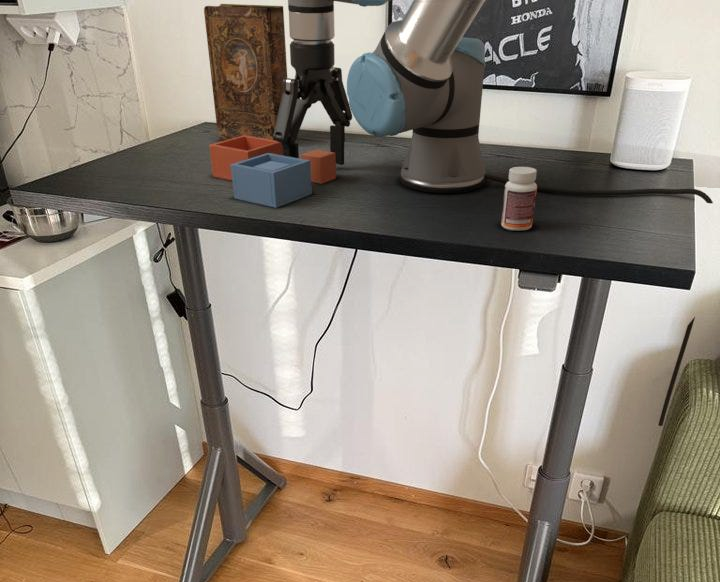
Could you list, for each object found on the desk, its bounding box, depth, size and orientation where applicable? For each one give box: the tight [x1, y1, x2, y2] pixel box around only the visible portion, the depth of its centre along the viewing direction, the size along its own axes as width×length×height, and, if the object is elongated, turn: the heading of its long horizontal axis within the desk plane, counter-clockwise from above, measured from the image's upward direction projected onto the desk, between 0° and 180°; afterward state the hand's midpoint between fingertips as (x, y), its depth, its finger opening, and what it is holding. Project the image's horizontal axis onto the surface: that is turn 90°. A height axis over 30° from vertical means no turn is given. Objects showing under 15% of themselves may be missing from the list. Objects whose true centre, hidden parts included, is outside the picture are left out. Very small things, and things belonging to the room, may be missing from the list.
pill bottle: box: [500, 166, 538, 232], centre depth 110 cm, size 5×5×8 cm
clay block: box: [300, 149, 337, 185], centre depth 134 cm, size 4×4×4 cm
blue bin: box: [231, 153, 313, 209], centre depth 125 cm, size 10×10×6 cm
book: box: [203, 3, 290, 141], centre depth 152 cm, size 16×6×25 cm, turn 63°
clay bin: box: [208, 135, 283, 182], centre depth 136 cm, size 10×10×6 cm
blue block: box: [254, 161, 290, 171], centre depth 125 cm, size 4×4×4 cm
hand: (315, 172), depth 136 cm, fingers open, 13 cm apart
